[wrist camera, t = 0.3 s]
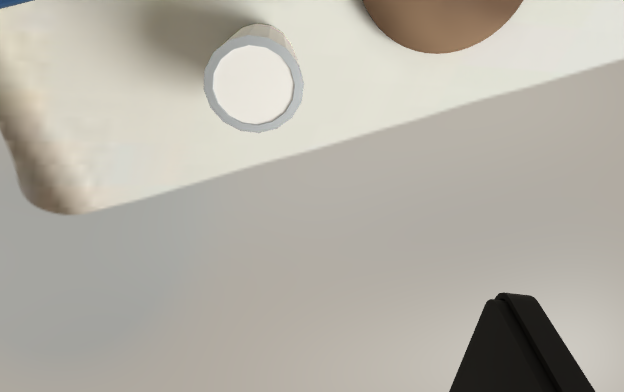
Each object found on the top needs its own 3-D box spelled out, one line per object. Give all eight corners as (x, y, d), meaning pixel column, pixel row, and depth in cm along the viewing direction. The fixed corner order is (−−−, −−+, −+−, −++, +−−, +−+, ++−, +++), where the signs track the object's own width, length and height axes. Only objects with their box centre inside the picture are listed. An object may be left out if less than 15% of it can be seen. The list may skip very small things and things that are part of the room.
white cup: (305, 98, 43) (306, 130, 37) (223, 103, 43) (210, 136, 37) (300, 12, 39) (300, 32, 33) (210, 17, 40) (195, 38, 33)
